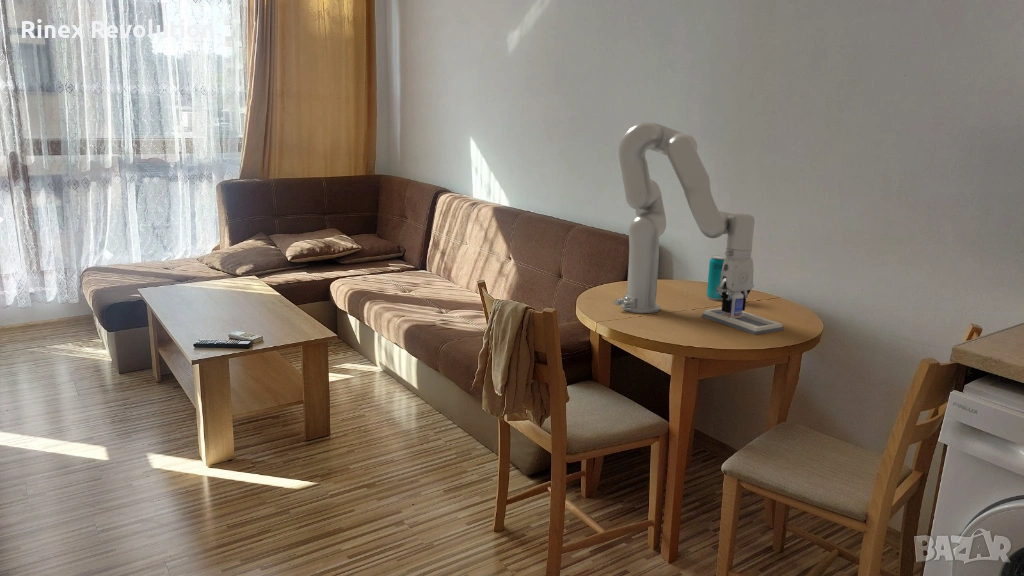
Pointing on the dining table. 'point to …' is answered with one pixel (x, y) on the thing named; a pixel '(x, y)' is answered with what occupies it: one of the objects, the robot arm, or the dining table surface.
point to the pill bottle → (735, 305)
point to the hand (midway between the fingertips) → (733, 310)
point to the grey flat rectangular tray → (744, 322)
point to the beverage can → (714, 277)
